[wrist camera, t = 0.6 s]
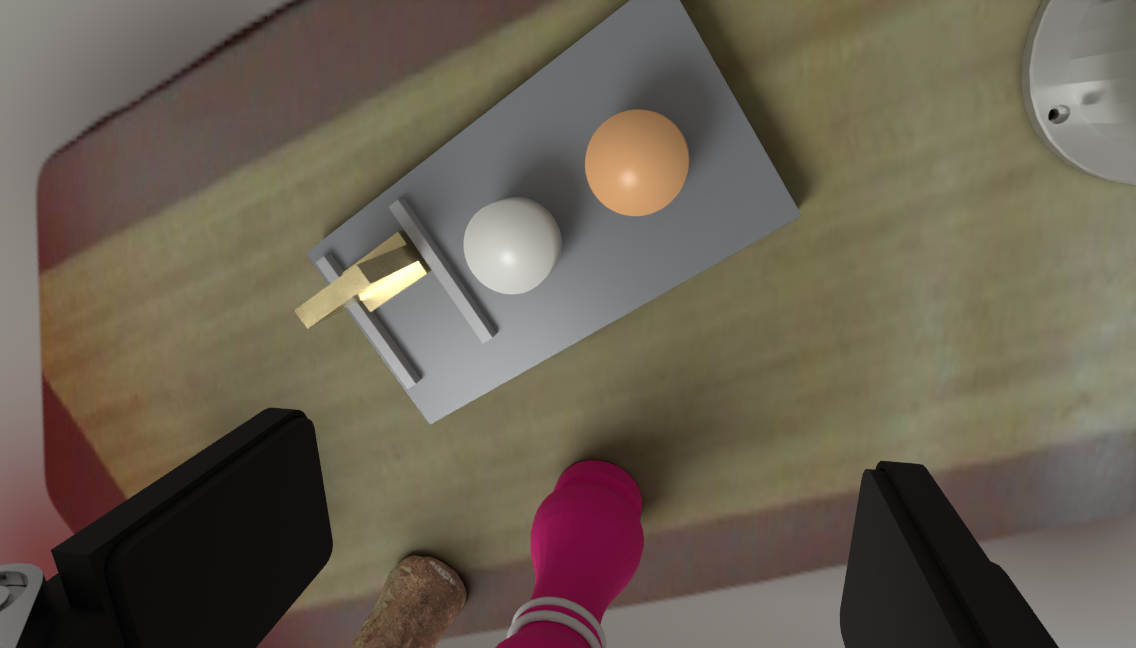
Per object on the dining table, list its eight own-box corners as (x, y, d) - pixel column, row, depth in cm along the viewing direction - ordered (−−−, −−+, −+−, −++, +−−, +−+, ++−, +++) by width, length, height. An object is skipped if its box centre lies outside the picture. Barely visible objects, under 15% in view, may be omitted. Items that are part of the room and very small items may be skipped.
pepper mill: (551, 533, 44) (438, 832, 26) (547, 448, 42) (420, 707, 23) (649, 545, 42) (604, 872, 24) (650, 457, 40) (602, 743, 22)
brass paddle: (404, 229, 37) (346, 250, 31) (432, 270, 37) (380, 298, 31) (349, 270, 38) (284, 296, 32) (376, 308, 39) (317, 342, 33)
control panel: (667, -18, 31) (663, -31, 28) (796, 210, 33) (804, 217, 31) (324, 247, 40) (297, 255, 38) (441, 411, 43) (424, 430, 40)
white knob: (529, 179, 32) (518, 182, 30) (579, 256, 33) (571, 264, 31) (460, 227, 34) (445, 233, 32) (509, 300, 35) (497, 310, 33)
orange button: (656, 89, 29) (653, 87, 27) (708, 176, 30) (707, 180, 28) (574, 147, 31) (565, 149, 29) (624, 228, 32) (619, 235, 30)
